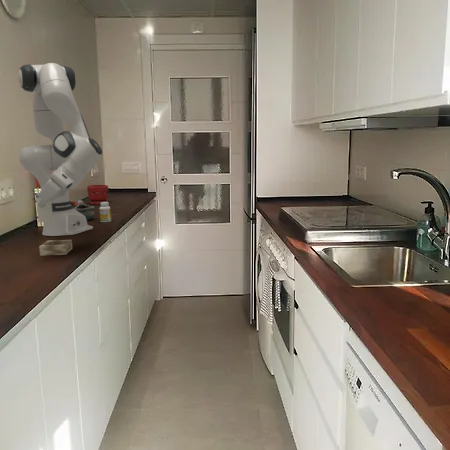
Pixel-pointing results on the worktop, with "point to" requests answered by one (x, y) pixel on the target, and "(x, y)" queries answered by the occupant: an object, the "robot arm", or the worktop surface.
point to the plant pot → (97, 197)
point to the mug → (85, 210)
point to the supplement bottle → (105, 212)
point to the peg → (44, 211)
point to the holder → (55, 247)
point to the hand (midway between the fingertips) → (42, 205)
